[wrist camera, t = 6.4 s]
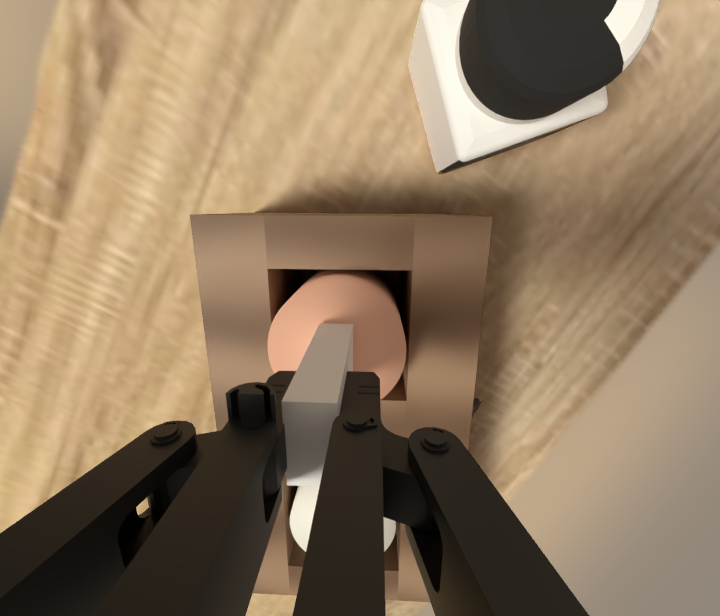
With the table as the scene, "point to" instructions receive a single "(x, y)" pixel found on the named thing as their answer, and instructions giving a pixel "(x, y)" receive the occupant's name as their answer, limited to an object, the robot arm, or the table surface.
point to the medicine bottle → (517, 69)
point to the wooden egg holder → (418, 316)
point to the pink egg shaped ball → (343, 322)
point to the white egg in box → (305, 512)
